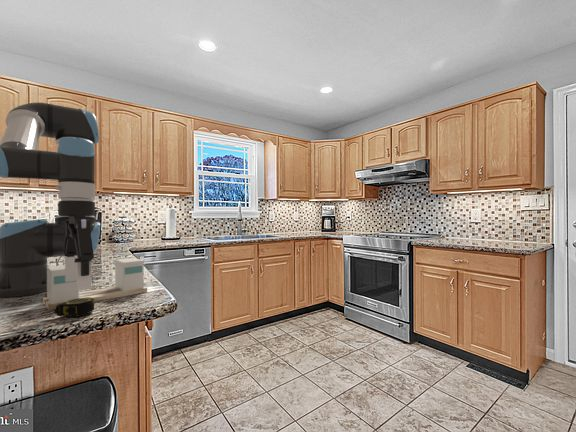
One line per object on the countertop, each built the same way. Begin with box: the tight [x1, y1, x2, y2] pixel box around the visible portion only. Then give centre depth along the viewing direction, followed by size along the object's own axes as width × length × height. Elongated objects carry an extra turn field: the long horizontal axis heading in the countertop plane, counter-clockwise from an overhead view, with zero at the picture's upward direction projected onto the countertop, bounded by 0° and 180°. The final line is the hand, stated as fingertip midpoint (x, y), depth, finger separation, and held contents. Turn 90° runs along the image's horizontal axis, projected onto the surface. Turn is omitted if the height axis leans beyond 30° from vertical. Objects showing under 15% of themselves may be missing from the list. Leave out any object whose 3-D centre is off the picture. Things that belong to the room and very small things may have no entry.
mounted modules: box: [46, 257, 145, 304], centre depth 89 cm, size 8×24×9 cm, turn 137°
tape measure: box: [53, 297, 95, 318], centre depth 74 cm, size 7×7×4 cm
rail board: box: [42, 285, 148, 311], centre depth 89 cm, size 10×25×2 cm, turn 136°
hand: (77, 285), depth 73 cm, fingers open, 13 cm apart
